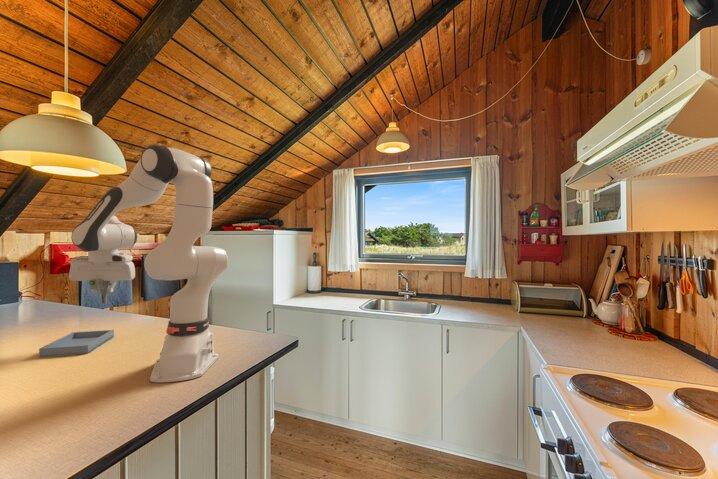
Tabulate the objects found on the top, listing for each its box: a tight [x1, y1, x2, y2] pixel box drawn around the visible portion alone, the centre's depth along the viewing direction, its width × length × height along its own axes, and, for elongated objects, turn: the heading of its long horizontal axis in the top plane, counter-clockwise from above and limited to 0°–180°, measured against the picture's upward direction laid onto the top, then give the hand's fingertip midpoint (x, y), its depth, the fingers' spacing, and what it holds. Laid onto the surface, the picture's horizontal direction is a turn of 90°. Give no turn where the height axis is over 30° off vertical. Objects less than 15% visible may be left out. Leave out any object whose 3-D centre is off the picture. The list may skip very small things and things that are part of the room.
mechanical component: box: [88, 279, 111, 305], centre depth 114 cm, size 3×10×10 cm, turn 179°
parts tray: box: [38, 329, 115, 358], centre depth 110 cm, size 18×14×3 cm
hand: (102, 292), depth 114 cm, fingers closed on mechanical component, 3 cm apart
